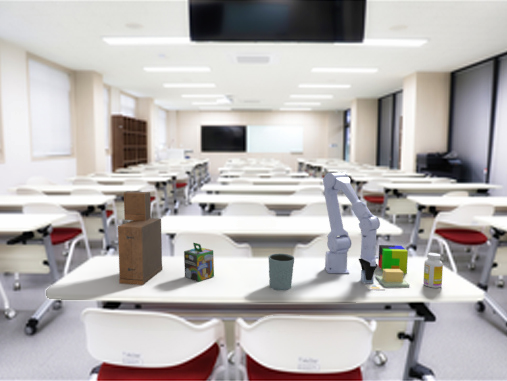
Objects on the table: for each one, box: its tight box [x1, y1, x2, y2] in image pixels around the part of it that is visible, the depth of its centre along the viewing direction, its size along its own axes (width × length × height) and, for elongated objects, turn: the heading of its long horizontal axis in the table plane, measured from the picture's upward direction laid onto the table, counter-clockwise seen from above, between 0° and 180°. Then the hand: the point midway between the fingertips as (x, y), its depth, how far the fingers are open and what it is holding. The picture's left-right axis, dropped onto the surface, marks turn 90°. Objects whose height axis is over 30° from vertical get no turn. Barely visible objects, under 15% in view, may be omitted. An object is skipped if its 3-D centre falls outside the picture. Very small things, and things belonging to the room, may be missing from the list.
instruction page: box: [365, 284, 386, 291], centre depth 147 cm, size 6×5×1 cm
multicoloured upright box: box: [183, 242, 215, 283], centre depth 157 cm, size 9×9×15 cm
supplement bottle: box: [423, 252, 444, 289], centre depth 149 cm, size 7×7×13 cm
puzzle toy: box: [377, 244, 409, 274], centre depth 169 cm, size 10×10×10 cm
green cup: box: [268, 253, 295, 291], centre depth 147 cm, size 10×10×12 cm
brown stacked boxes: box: [117, 191, 163, 286], centre depth 156 cm, size 19×14×35 cm
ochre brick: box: [381, 269, 404, 282], centre depth 153 cm, size 7×4×4 cm, turn 90°
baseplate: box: [375, 275, 410, 288], centre depth 153 cm, size 10×10×1 cm
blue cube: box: [360, 269, 375, 284], centre depth 154 cm, size 4×4×4 cm
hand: (367, 277), depth 154 cm, fingers closed on blue cube, 4 cm apart
